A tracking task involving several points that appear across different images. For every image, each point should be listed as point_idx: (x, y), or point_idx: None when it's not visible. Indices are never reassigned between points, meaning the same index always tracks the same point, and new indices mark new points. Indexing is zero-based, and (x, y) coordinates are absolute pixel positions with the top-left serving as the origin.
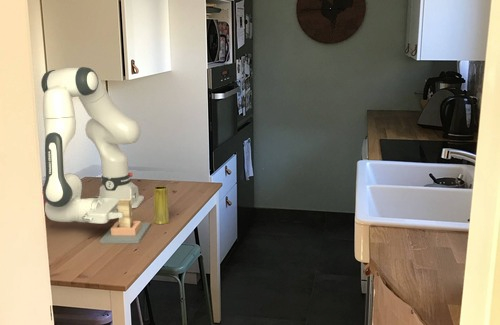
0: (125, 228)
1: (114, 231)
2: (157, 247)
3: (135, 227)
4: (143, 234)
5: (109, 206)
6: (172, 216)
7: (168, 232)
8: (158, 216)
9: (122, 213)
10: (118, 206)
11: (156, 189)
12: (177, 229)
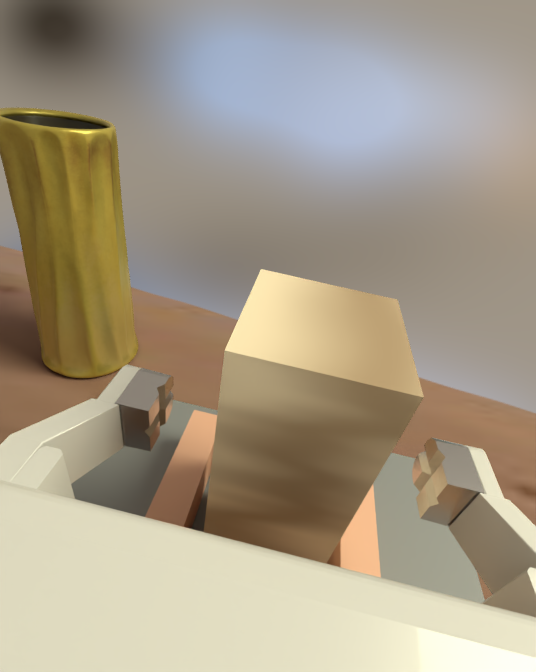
0: (366, 523)
1: None
2: (463, 401)
3: None
4: None
5: (316, 651)
6: (26, 307)
7: None
8: (122, 327)
9: (464, 445)
10: (389, 447)
11: (91, 134)
12: (236, 320)
